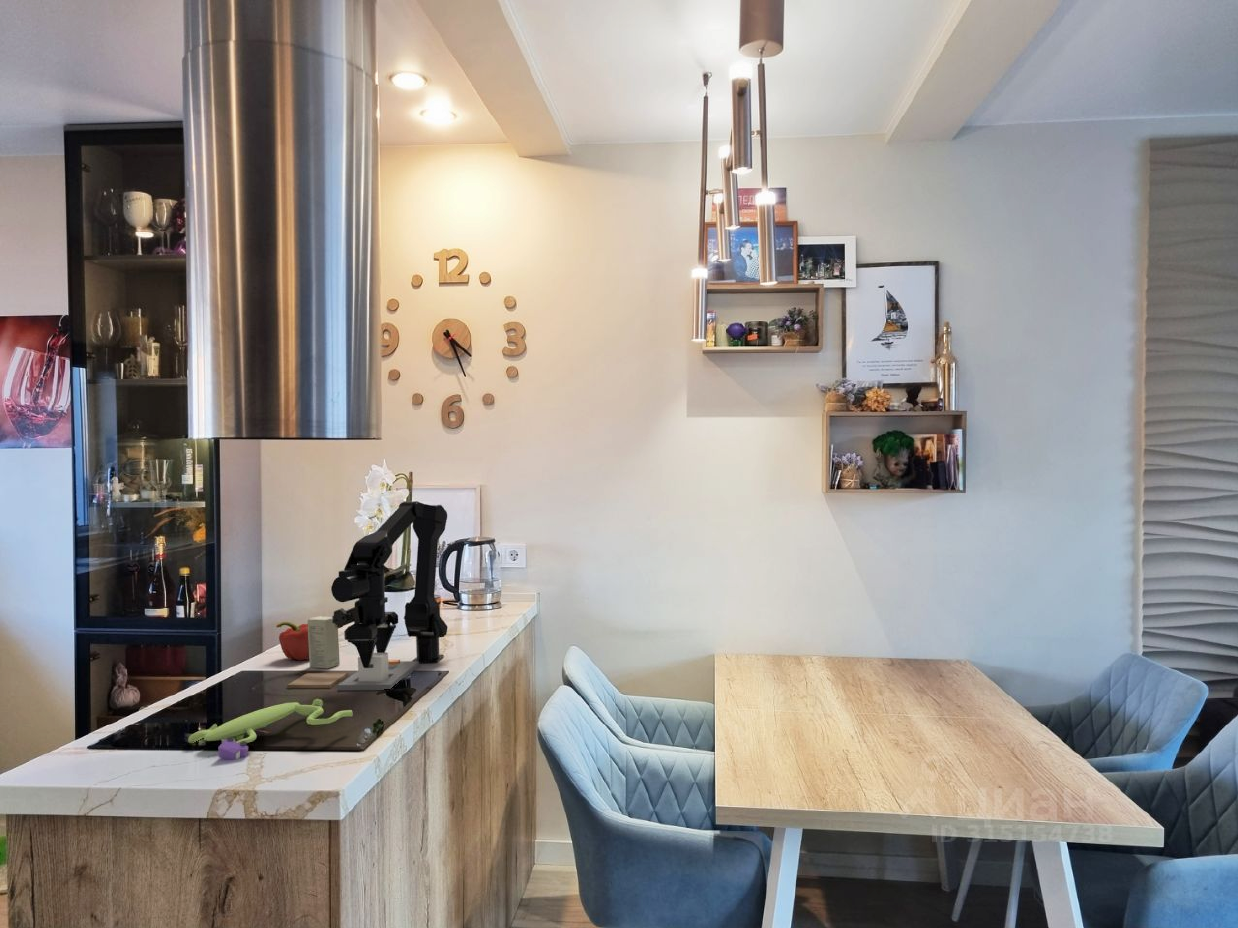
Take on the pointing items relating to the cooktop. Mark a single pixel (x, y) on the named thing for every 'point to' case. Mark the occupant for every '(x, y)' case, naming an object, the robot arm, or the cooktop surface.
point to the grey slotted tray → (396, 673)
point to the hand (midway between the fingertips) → (373, 662)
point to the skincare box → (323, 642)
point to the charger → (374, 668)
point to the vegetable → (295, 641)
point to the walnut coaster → (318, 680)
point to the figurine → (259, 726)
